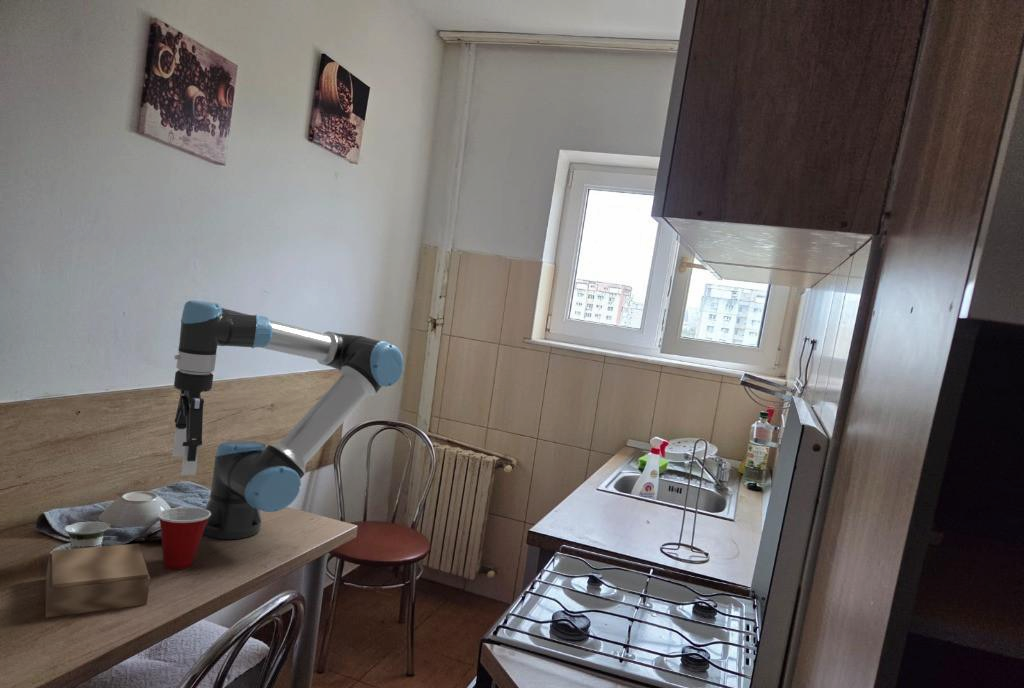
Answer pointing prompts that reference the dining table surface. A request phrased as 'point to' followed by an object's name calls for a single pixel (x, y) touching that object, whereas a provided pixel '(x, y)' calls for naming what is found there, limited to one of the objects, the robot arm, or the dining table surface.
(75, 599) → the brown flat block
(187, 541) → the plastic cup
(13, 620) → the dining table surface
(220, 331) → the robot arm
